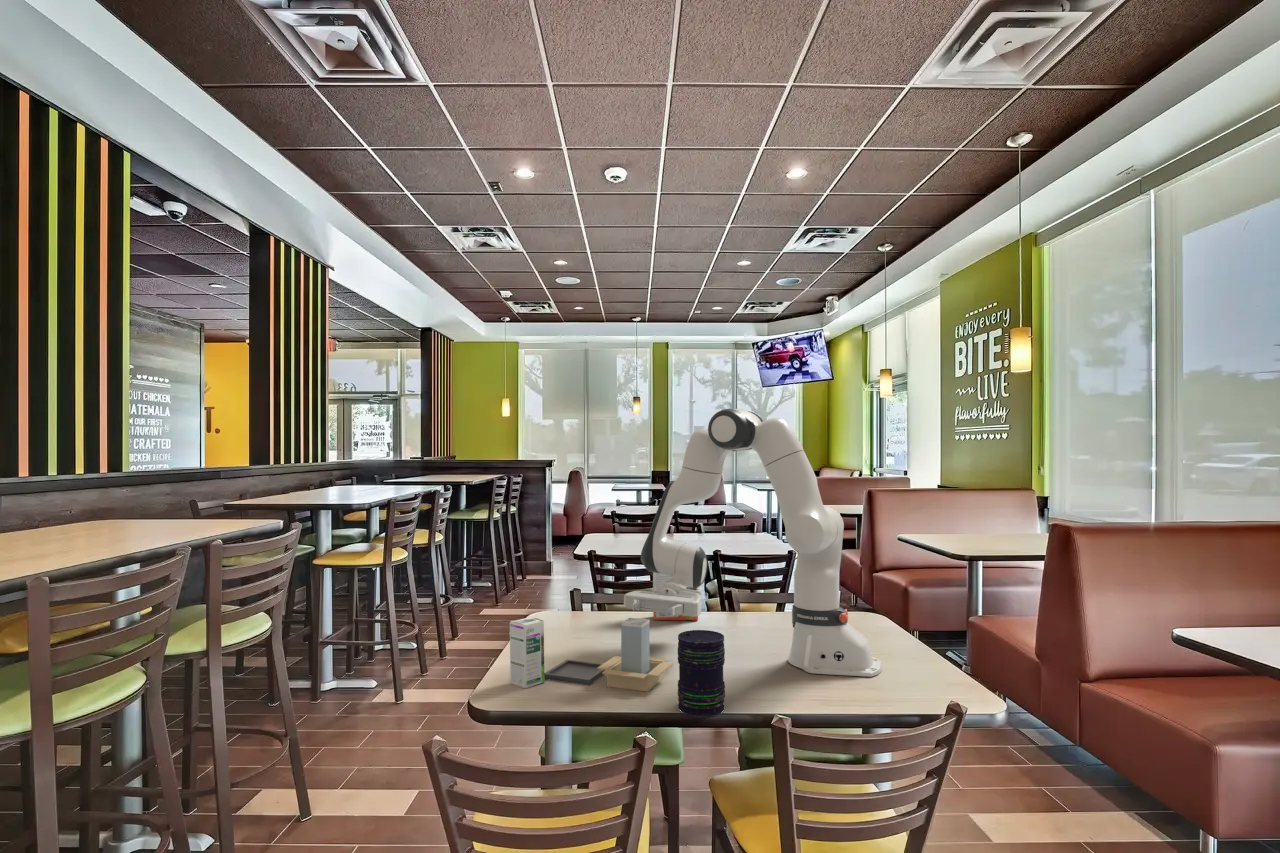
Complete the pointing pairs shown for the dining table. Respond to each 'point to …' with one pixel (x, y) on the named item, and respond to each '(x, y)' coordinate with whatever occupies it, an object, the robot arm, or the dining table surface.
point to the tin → (635, 646)
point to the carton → (634, 674)
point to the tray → (575, 672)
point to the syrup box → (527, 652)
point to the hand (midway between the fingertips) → (652, 609)
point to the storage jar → (701, 673)
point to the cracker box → (657, 581)
